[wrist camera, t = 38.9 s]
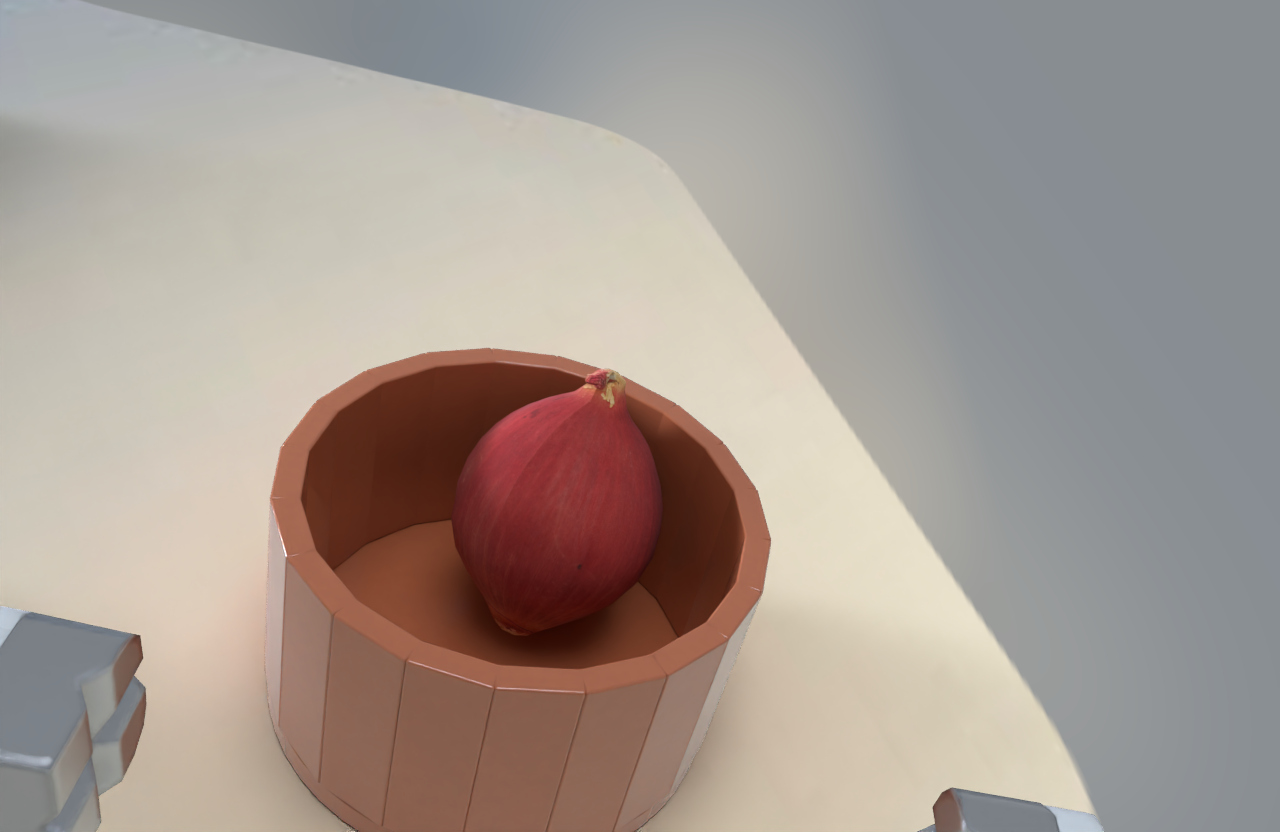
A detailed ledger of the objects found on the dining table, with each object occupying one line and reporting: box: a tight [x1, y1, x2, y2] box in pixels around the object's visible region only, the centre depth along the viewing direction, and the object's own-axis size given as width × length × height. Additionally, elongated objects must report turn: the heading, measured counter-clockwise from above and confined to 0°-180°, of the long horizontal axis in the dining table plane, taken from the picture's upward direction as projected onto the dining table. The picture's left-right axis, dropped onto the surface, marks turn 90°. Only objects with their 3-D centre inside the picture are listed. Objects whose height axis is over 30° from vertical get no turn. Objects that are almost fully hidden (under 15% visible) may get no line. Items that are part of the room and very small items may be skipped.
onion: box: [451, 368, 663, 636], centre depth 32 cm, size 6×6×8 cm
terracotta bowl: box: [265, 348, 771, 832], centre depth 31 cm, size 12×12×7 cm
